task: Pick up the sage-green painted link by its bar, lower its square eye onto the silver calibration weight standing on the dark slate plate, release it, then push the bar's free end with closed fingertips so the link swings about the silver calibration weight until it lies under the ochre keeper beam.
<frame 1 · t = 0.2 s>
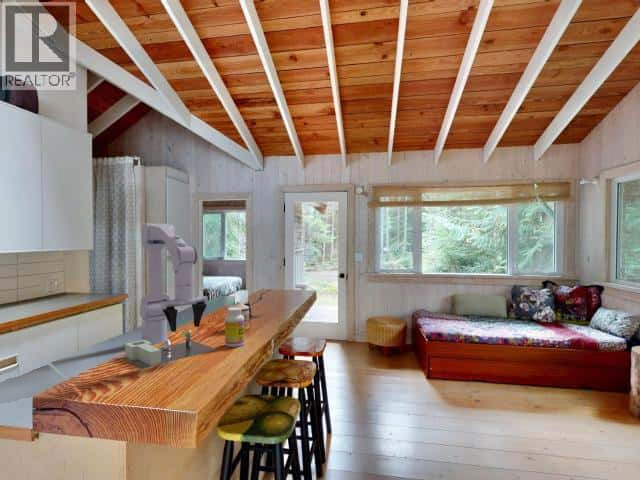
hand: (185, 328, 110), 10 cm above the countertop, tool pointing down, fingers open, 7 cm apart
base plate: (170, 354, 115), on the countertop
link: (156, 364, 104), point 1 cm above the countertop, touching base plate
supplement bottle: (235, 345, 125), on the countertop
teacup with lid: (239, 328, 151), on the countertop
silver calibration weight: (166, 351, 120), resting on base plate
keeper: (188, 348, 123), resting on base plate
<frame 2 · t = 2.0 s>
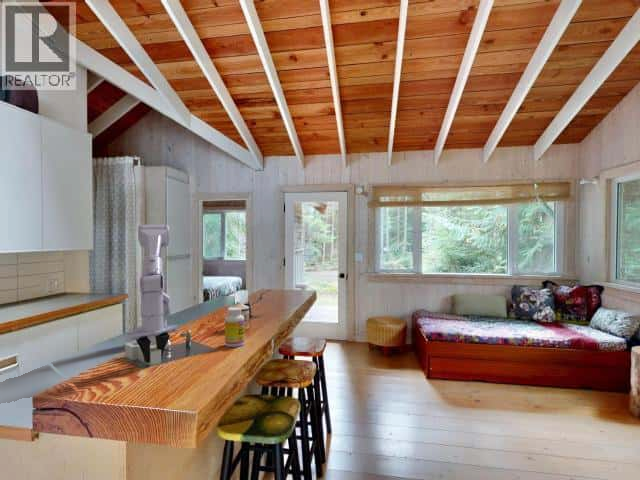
hand: (153, 360, 105), 1 cm above the countertop, tool pointing down, fingers closed on link, 3 cm apart
link: (156, 364, 104), point 1 cm above the countertop, touching base plate, gripper
everything else where it was.
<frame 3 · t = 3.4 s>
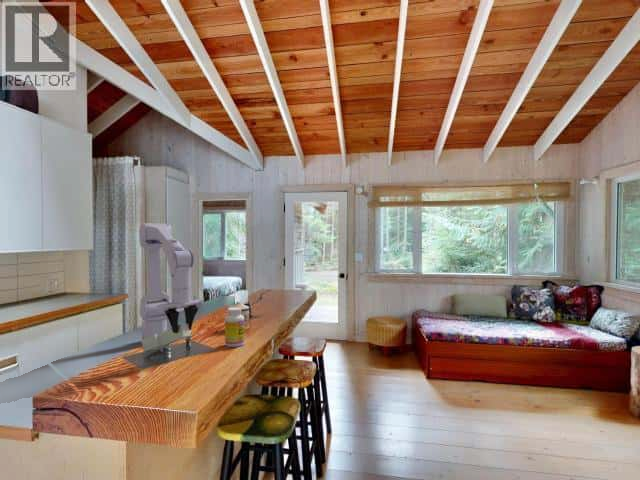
hand: (181, 331, 112), 8 cm above the countertop, tool pointing down, fingers closed on link, 4 cm apart
link: (186, 336, 111), point 7 cm above the countertop, tilted 24°, touching gripper
everything else where it was.
when the fingers open (3 cm above the countertop, at t = 4.9 s): link stays where it is, resting on base plate.
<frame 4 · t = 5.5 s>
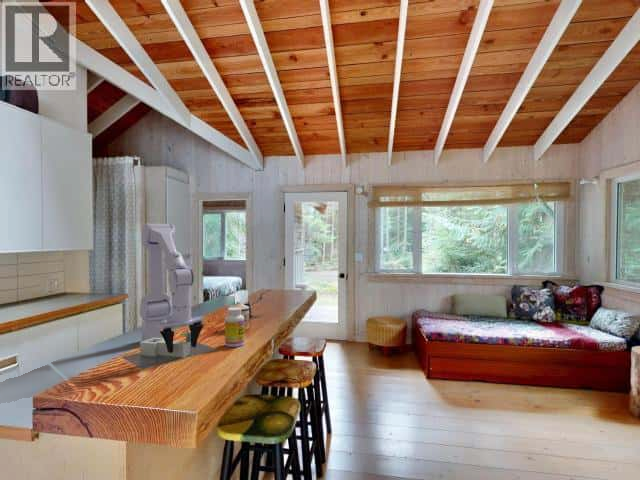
hand: (182, 349, 112), 3 cm above the countertop, tool pointing down, fingers open, 7 cm apart
link: (186, 356, 112), point 1 cm above the countertop, touching base plate
everything else where it was.
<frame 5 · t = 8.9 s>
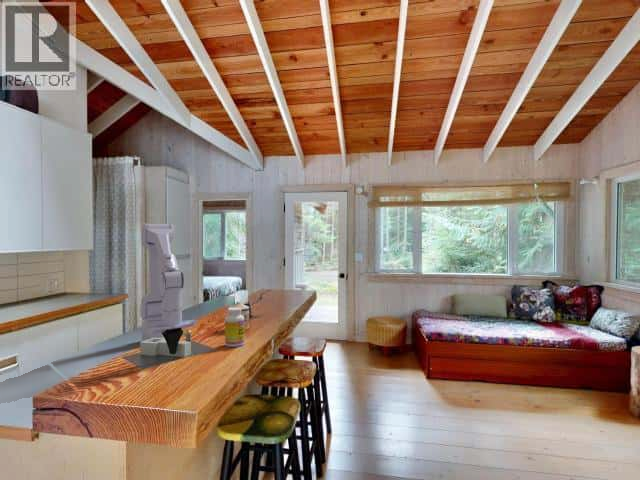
hand: (172, 353, 110), 2 cm above the countertop, tool pointing down, fingers closed
link: (187, 355, 112), point 1 cm above the countertop, touching base plate, gripper, silver calibration weight
everything else where it was.
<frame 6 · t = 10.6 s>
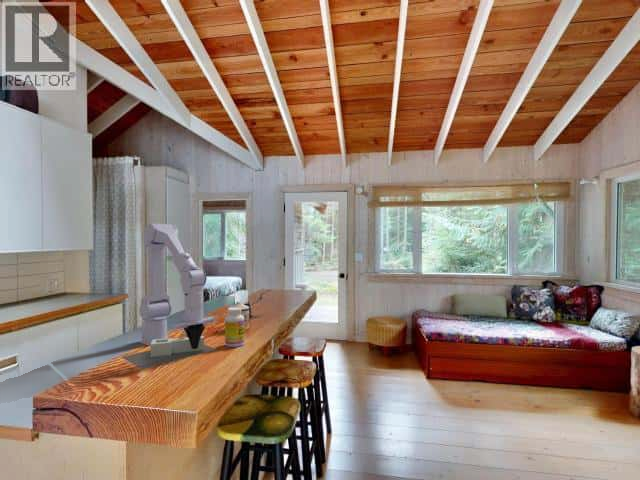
hand: (194, 348, 115), 2 cm above the countertop, tool pointing down, fingers closed
link: (203, 348, 119), point 1 cm above the countertop, touching base plate, gripper
everything else where it was.
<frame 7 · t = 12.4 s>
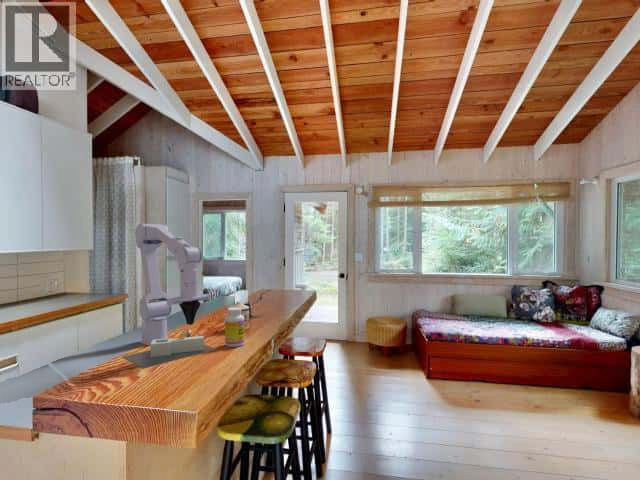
hand: (190, 324, 117), 10 cm above the countertop, tool pointing down, fingers closed
link: (203, 348, 119), point 1 cm above the countertop, touching base plate
everything else where it was.
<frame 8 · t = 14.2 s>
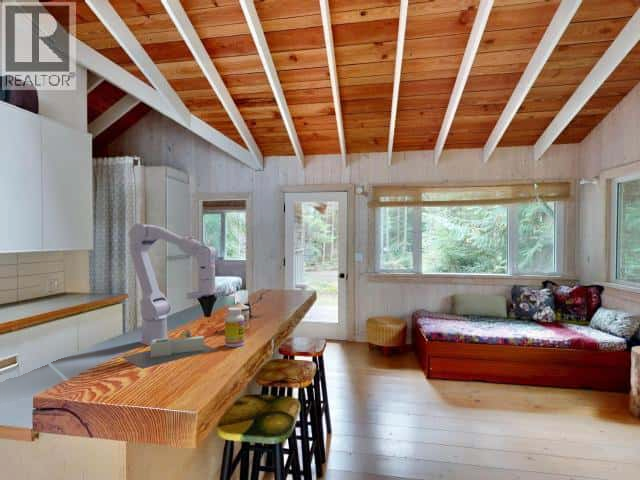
hand: (207, 316, 127), 10 cm above the countertop, tool pointing down, fingers closed
nothing on the countertop moved.
at the end: link 1.9 cm from the target spot, point 0.6 cm above the countertop; link 12.6 cm from the silver calibration weight (horizontally); link tilted 0° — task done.
